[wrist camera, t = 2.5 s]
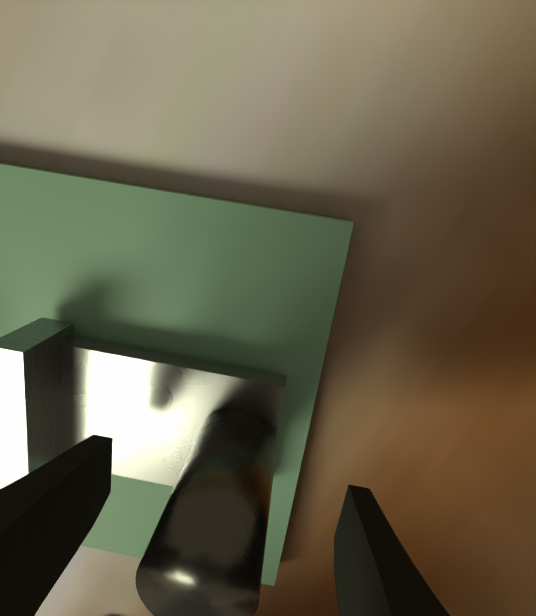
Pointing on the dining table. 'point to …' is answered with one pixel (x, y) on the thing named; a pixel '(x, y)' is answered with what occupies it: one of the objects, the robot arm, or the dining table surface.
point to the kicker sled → (156, 452)
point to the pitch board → (176, 303)
